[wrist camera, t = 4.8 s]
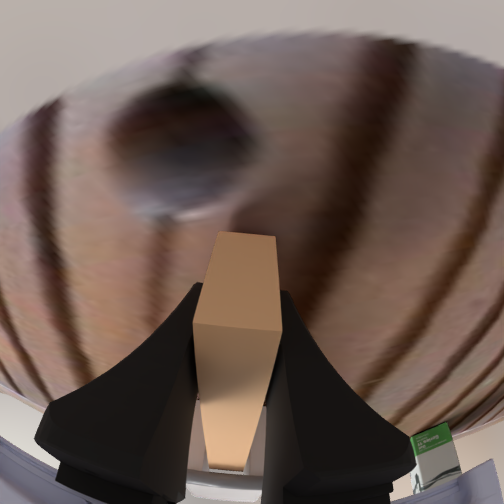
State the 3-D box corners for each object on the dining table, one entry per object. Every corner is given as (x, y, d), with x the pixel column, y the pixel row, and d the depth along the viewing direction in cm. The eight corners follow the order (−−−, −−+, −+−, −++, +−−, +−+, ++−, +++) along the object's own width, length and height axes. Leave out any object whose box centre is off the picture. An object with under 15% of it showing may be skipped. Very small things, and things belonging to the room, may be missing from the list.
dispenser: (258, 440, 21) (256, 503, 15) (199, 434, 21) (190, 497, 15) (271, 402, 17) (271, 489, 11) (192, 394, 17) (178, 480, 11)
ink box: (409, 435, 22) (427, 523, 12) (448, 419, 21) (470, 503, 11) (404, 453, 27) (416, 523, 16) (436, 440, 25) (451, 509, 15)
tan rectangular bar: (246, 411, 17) (243, 471, 13) (216, 408, 17) (209, 468, 13) (275, 236, 10) (282, 331, 6) (218, 230, 10) (192, 322, 6)
